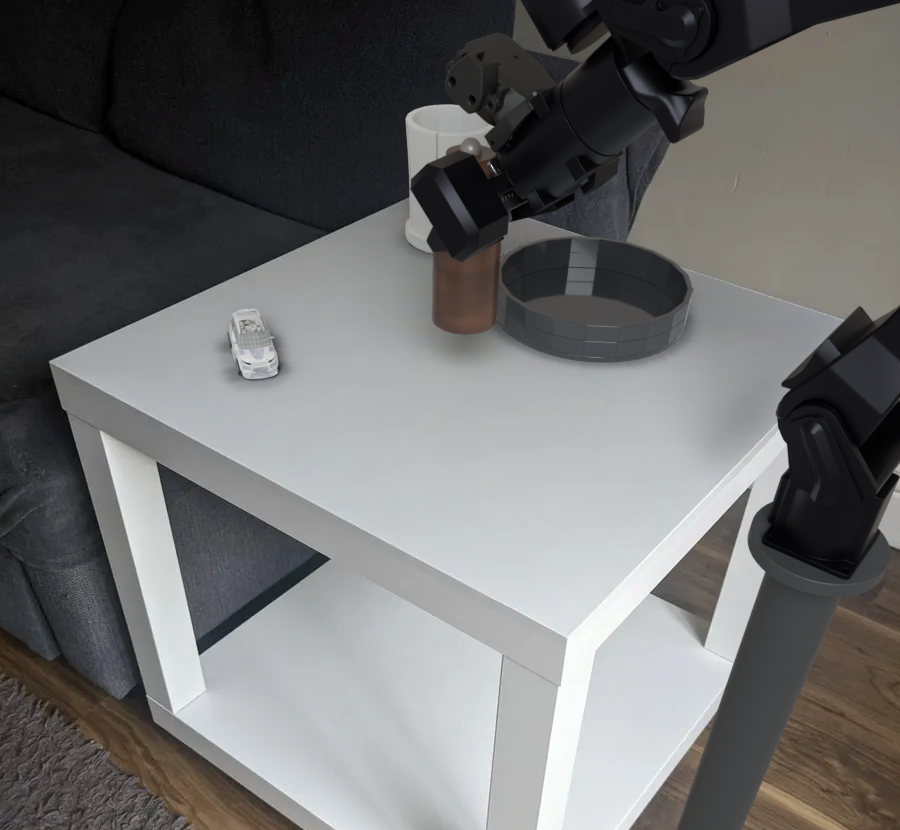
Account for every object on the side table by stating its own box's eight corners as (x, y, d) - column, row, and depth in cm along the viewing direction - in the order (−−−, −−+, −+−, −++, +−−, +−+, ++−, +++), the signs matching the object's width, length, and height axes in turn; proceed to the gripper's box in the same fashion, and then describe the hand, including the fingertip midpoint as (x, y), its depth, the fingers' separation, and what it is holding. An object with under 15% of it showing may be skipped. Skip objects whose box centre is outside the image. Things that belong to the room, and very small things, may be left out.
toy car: (240, 385, 82) (236, 353, 80) (226, 338, 88) (222, 307, 86) (284, 379, 83) (281, 347, 81) (267, 333, 89) (264, 302, 86)
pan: (717, 308, 95) (725, 273, 93) (625, 385, 84) (631, 348, 82) (558, 253, 102) (562, 220, 100) (455, 318, 92) (457, 282, 89)
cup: (518, 241, 104) (528, 121, 96) (469, 271, 99) (475, 147, 90) (438, 214, 108) (441, 97, 100) (386, 242, 103) (385, 120, 95)
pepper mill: (508, 325, 79) (522, 143, 70) (453, 340, 77) (459, 155, 68) (474, 298, 83) (482, 121, 73) (420, 312, 80) (421, 132, 71)
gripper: (605, -26, 68) (470, 109, 80) (435, 26, 57) (309, 174, 69) (686, 122, 70) (542, 232, 82) (537, 200, 59) (396, 313, 71)
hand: (453, 234), depth 76 cm, fingers closed on pepper mill, 5 cm apart
